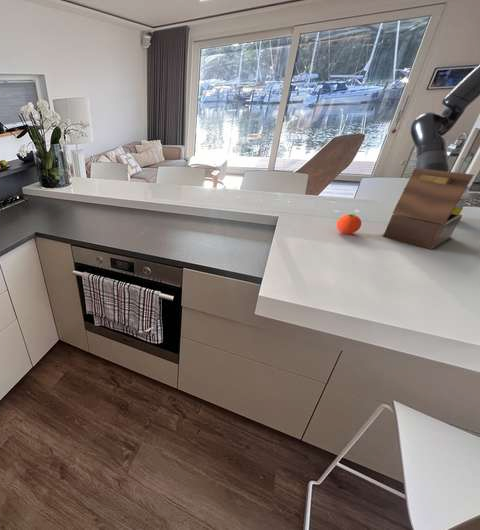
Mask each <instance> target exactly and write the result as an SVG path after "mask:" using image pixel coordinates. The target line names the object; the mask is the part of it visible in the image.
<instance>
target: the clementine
mask: <svg viewBox="0 0 480 530" xmlns="http://www.w3.org/2000/svg"><path fill="white" fill-rule="evenodd" d="M361 227H362V220H361V218H360V217H359V216H358V215H356V214H355V213H347V214H344V215H342V216H340V217H339V218H338V220H337V221H336V229H337V230H338V231H339V232H340V233H342V234H344V235H351V234H354V233H356V232H358V231H359V230H360V229H361Z"/></svg>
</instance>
